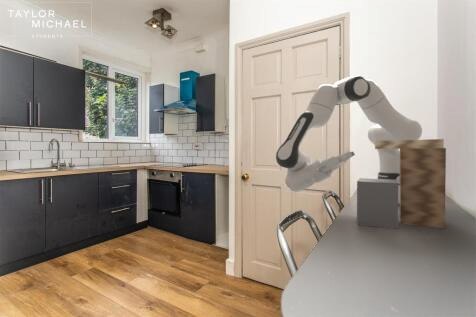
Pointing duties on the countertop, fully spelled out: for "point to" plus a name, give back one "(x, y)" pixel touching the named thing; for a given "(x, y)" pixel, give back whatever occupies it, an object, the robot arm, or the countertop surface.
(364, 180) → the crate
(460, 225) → the countertop surface
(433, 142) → the bar
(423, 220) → the pedestal
